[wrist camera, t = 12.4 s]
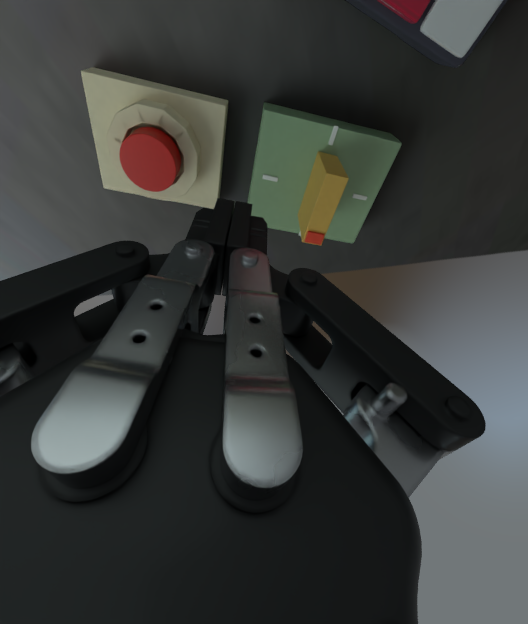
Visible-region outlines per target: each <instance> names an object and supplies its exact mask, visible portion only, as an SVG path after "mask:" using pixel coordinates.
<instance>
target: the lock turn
mask: <svg viewBox="0 0 528 624" xmlns="http://www.w3.org/2000/svg"><path fill="white" fill-rule="evenodd" d="M348 180H349V177H348V176H347V174H346V172H345V170H344V168H343V166H342V164H341V162H340V160H339V159H338V157H337V156H335V155H331V154H327V153H323V152H319V151H318V153H317V156H316V159H315V162H314V165H313V168H312V171H311V175H310V178H309V181H308V184H307V187H306V190H305V193H304V197H303V200H302V203H301V206H300V209H299V212H298V220H299V226H300V232H301V238H302V242H305V243H310V244H315V245H322V242H323V240H324V238H325V235H326V233H327V230H328V228H329V225H330V223H331V221H332V218H333V216H334V213H335V211H336V209H337V206H338V204H339V201H340V199H341V197H342V194H343V192H344V189H345V187H346V184H347V182H348Z"/></svg>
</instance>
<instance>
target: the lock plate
mask: <svg viewBox="0 0 528 624" xmlns="http://www.w3.org/2000/svg"><path fill="white" fill-rule="evenodd" d="M401 145H402V143H401V142H400V141H399V140H398V139H397V138H396V137H394V136H393V135H392V134H391V133H387V132H383V131H379V130H375V129H371V128H367V127H363V126H359V125H355V124H351V123H347V122H343V121H339V120H335V119H331V118H327V117H323V116H319V115H315V114H311V113H307V112H303V111H299V110H295V109H290V108H286V107H282V106H278V105H274V104H270V103H266V102H264V105H263V111H262V117H261V123H260V129H259V135H258V141H257V147H256V153H255V159H254V165H253V171H252V177H251V183H250V189H249V196H248V202H247V203H249V204H252V213H251V216H257V217H263V218H264V220H265V221H266V223H267V228H272V229H278V230H283V231H289V232H294V233H299V235H300V236H301V232H300V226H299V220H298V212H299V209H300V206H301V203H302V200H303V197H304V193H305V190H306V187H307V184H308V181H309V178H310V175H311V171H312V168H313V165H314V162H315V159H316V156H317V153H318V151H319V152H323V153H327V154H331V155H335V156H337V157H338V159H339V160H340V162H341V164H342V166H343V168H344V170H345V172H346V174H347V176H348V177H349V180H348V182H347V184H346V187H345V189H344V192H343V194H342V197H341V199H340V201H339V204H338V206H337V209H336V211H335V213H334V216H333V218H332V221H331V223H330V225H329V228H328V230H327V233H326V235H325V238H326V239H332V240H337V241H342V242H348V243H354V241H355V239H356V237H357V235H358V233H359V231H360V229H361V227H362V225H363V223H364V221H365V219H366V216H367V214H368V212H369V210H370V208H371V206H372V204H373V202H374V200H375V198H376V196H377V194H378V192H379V190H380V188H381V186H382V184H383V182H384V180H385V178H386V176H387V174H388V172H389V170H390V167H391V165H392V163H393V161H394V159H395V157H396V155H397V153H398V151H399V149H400V147H401Z"/></svg>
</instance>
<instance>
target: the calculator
mask: <svg viewBox="0 0 528 624" xmlns="http://www.w3.org/2000/svg"><path fill="white" fill-rule="evenodd" d="M346 1H347V2H348V3H350V4H351V5H353V6H354V7H356V8H357V9H359V10H360V11H362V12H363V13H365V14H366V15H368V16H369V17H371V18H372V19H374V20H375V21H376V22H378V23H379V24H381V25H382V26H384V27H385V28H387V29H388V30H390V31H391V32H393V33H394V34H395V35H397V36H398V37H399V38H400V39H402V40H403V41H404V42H405V43H407V44H408V45H410V46H411V47H413V48H414V49H416V50H417V51H419V52H420V53H422V54H423V55H425V56H426V57H427V58H429V59H430V60H432V61H433V62H435V63H437V64H440V65H445V66H449V67H454V68H458V67H460V66H461V65H462V64H463V63H464V62H465V61H466V59H467V58H468V57H469V55H470V54H471V52H472V51H473V49H474V48H475V47H476V45H477V44H478V42H479V41H480V40H481V38H482V37H483V35H484V34H485V32H486V31H487V30H488V28H489V27H490V25H491V24H492V22H493V21H494V20H495V18H496V17H497V15H498V14H499V12H500V11H501V10H502V8H503V7H504V5H505V4H506V2H507V1H508V0H346Z"/></svg>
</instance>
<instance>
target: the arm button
mask: <svg viewBox="0 0 528 624" xmlns="http://www.w3.org/2000/svg"><path fill="white" fill-rule="evenodd" d="M119 157H120V163H121V166H122V168H123V170H124V172H125V174H126V175H127V176H128V178H129V179H130V180H131V181H132V182H133V183H134V184H136V185H137V186H139V187H140V188H142V189H144V190H147V191H152V192H159V191H163V190H166V189H167V188H169V187H170V186H171V185H172V184H173V182H174V180H175V178H176V176H177V175H178V173H179V171H180V167H181V157H180V153H179V150H178V148H177V146H176V144H175V143H174V141H173V140H172V139H171V138H170V137H169V136H168V135H167V134H166V133H164V132H163V131H161V130H159V129H157V128H154V127H141V128H138V129H137V130H135V131H134V132H133V133H132V134H130V135H129V136H128V137H127V138H126V139H125V140H124V141H123V143H122V144H121V147H120V152H119Z"/></svg>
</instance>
